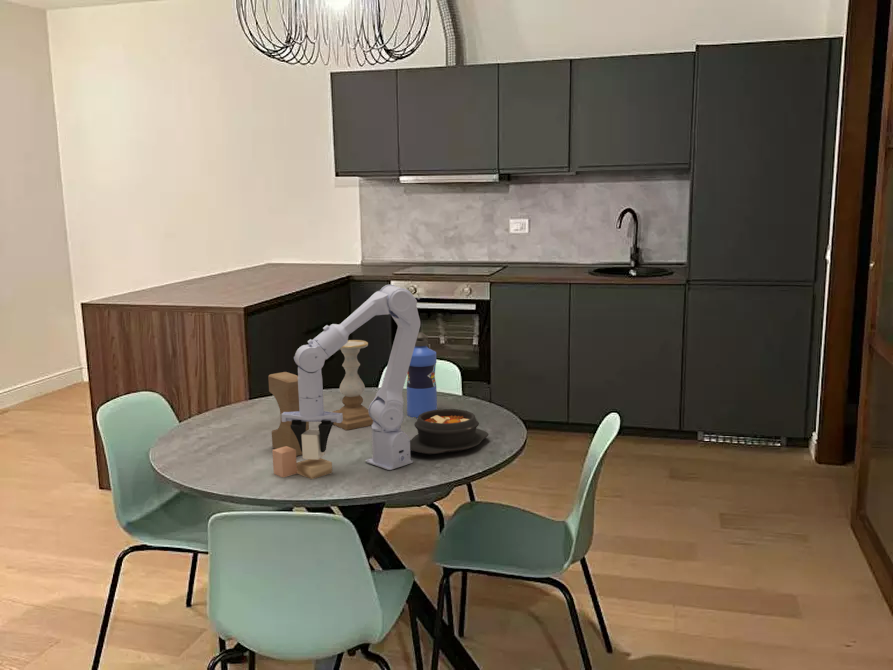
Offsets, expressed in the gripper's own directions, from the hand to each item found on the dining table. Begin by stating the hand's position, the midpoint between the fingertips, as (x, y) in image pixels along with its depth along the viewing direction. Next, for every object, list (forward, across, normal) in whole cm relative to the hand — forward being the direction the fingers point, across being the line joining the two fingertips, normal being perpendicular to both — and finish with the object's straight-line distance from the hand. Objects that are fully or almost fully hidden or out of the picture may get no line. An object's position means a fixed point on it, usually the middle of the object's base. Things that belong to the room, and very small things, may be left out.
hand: (313, 450), depth 194 cm
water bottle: (+6, -17, -54) cm, 57 cm away
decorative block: (+6, +11, -16) cm, 21 cm away
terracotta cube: (+6, +7, +1) cm, 9 cm away
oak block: (+6, 0, 0) cm, 6 cm away
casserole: (+6, -29, -23) cm, 38 cm away
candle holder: (+6, +1, -43) cm, 43 cm away
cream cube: (+2, 0, 0) cm, 2 cm away
